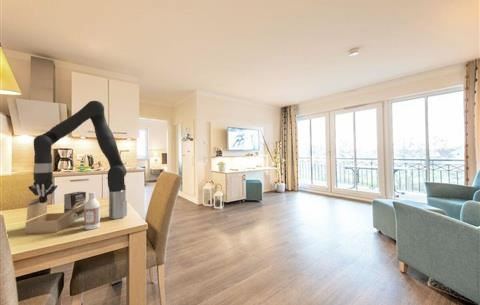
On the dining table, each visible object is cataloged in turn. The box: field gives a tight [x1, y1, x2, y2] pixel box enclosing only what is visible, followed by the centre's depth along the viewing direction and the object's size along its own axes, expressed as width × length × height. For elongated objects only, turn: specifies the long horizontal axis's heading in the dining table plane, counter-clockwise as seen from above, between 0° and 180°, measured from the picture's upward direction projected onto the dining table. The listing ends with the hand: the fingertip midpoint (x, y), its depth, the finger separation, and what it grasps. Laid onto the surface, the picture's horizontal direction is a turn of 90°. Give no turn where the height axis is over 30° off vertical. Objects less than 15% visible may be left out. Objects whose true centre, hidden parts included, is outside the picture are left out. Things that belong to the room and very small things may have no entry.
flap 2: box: [59, 203, 86, 219], centre depth 112 cm, size 1×12×10 cm
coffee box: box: [63, 191, 87, 221], centre depth 126 cm, size 9×6×16 cm
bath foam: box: [83, 191, 101, 231], centre depth 111 cm, size 7×7×20 cm
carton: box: [25, 212, 75, 235], centre depth 111 cm, size 14×14×6 cm
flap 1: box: [26, 195, 49, 221], centre depth 109 cm, size 1×12×10 cm, turn 9°
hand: (43, 202), depth 110 cm, fingers closed
